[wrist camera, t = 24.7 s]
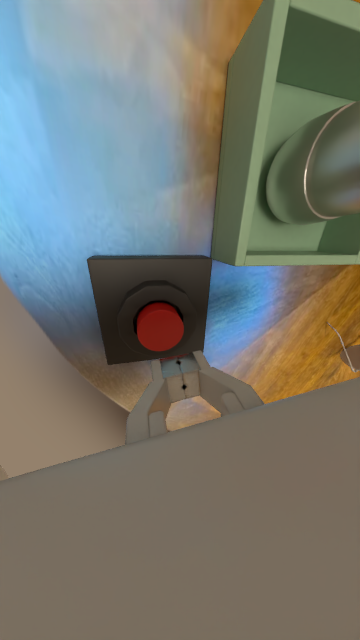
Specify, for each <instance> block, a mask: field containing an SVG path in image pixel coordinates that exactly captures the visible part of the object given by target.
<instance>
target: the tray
mask: <svg viewBox="0 0 360 640" xmlns="http://www.w3.org/2000/svg"><path fill="white" fill-rule="evenodd" d="M359 100H360V3H358V2H355V1H353V0H263V2H262V4H261V6H260V7H259V9H258V11H257V13H256V15H255V16H254V18H253V20H252V22H251V24H250V25H249V27H248V29H247V31H246V33H245V34H244V36H243V38H242V40H241V42H240V43H239V45H238V47H237V49H236V51H235V53H234V54H233V56H232V58H231V60H230V62H229V65H228V76H227V87H226V98H225V109H224V119H223V130H222V141H221V152H220V163H219V174H218V184H217V195H216V206H215V217H214V228H213V238H212V249H211V258H212V259H214V260H217V261H220V262H223V263H226V264H230V265H233V266H283V265H346V264H360V213H358V214H352V215H346V216H341V217H338V218H335V219H331V220H328V221H324V222H319V223H314V224H310V225H296V224H290V223H286V222H282V221H281V220H279V219H277V218H276V216H275V215H274V214H273V213H272V211H271V209H270V207H269V206H268V203H267V199H266V181H267V176H268V173H269V170H270V167H271V164H272V162H273V160H274V158H275V156H276V154H277V153H278V151H279V150H280V148H281V147H282V145H283V144H284V143H285V142H286V141H287V140H288V139H289V138H290V137H291V136H292V135H294V134H295V133H296V132H297V131H298V130H299V129H300V128H301V127H302V126H304V125H305V124H306V123H308V122H309V121H310V120H312V119H314V118H316V117H319V116H321V115H323V114H325V113H327V112H330V111H332V110H334V109H336V108H338V107H341V106H344V105H347V104H349V103H352V102H357V101H359Z"/></svg>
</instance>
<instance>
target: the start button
mask: <svg viewBox="0 0 360 640" xmlns="http://www.w3.org/2000/svg"><path fill="white" fill-rule="evenodd" d="M183 332H184V325H183V322H182V320H181V318H180V316H179V315H178V313H177V311H176V310H175V309H174V308H173V307H172V306H171V305H169V304H167V303H162V302H157V303H152V304H149V305H147V306H146V307H144V308H143V309H142V310H141V312H140V313H139V315H138V318H137V335H138V339H139V341H140V342H141V344H142V345H143V346H144V347H146V348H148V349H150V350H153V351H165V350H168V349H170V348H172V347H174V346H175V345H176V344H177V343H178V342H179V341H180V340H181V338H182V336H183Z"/></svg>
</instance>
